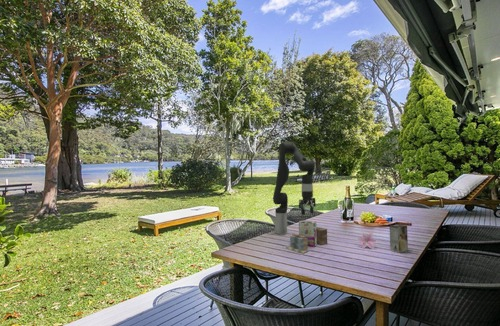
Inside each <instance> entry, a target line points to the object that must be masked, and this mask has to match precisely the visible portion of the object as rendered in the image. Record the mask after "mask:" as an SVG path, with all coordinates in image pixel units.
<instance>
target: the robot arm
mask: <svg viewBox="0 0 500 326" xmlns="http://www.w3.org/2000/svg"><path fill="white" fill-rule="evenodd" d="M291 154H292V159H293V161H294V162H295V163H296V164H297V166H298V169H299V170H300V171H301V172H307V173H306V174H303V175H302V176H301V198H302V199H299V200H298V209H300V210H301V212H300V213H301V216H305V215H306V210H305V209H306V207H307V206H309V213H310V214H314V208H315V207H316V205H317V203H316V198H315V197H314V185H313V177H314V176H313V175H314V172H315V169H316V165H315V162H314V161H313V160H307V158H306V156H305V155H303V154H302V153H301V152H300V150H299V148H298V147H297V145H296V144H295V143H294V142H292V141H282V142H281V143H280V146H279V157H278V167H277V174H276V181H275V186H274V192H273V196H272V201H273V204H275V205H279V206H278V207H276V208H275V212H274V213H275V220H274V234H276V235H279V236H280V235H281V236H285V235H288V207H289V205H288V203H289V199H288V194H287V193H286V192H282V189H283V187H284V186H285V184H287V182H288V180H289V176H290V168H289V165H288V163H287V161H286V155H291Z"/></svg>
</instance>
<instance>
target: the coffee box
mask: <svg viewBox="0 0 500 326" xmlns="http://www.w3.org/2000/svg"><path fill="white" fill-rule="evenodd" d="M408 238H409V237H408V225H405V224H400V223H399V224H392V225H389V250H390V251H391V252H395V253H398V254H399V253H404V252H408V250H409V247H408V245H409V244H408V242H409V241H408Z"/></svg>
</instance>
